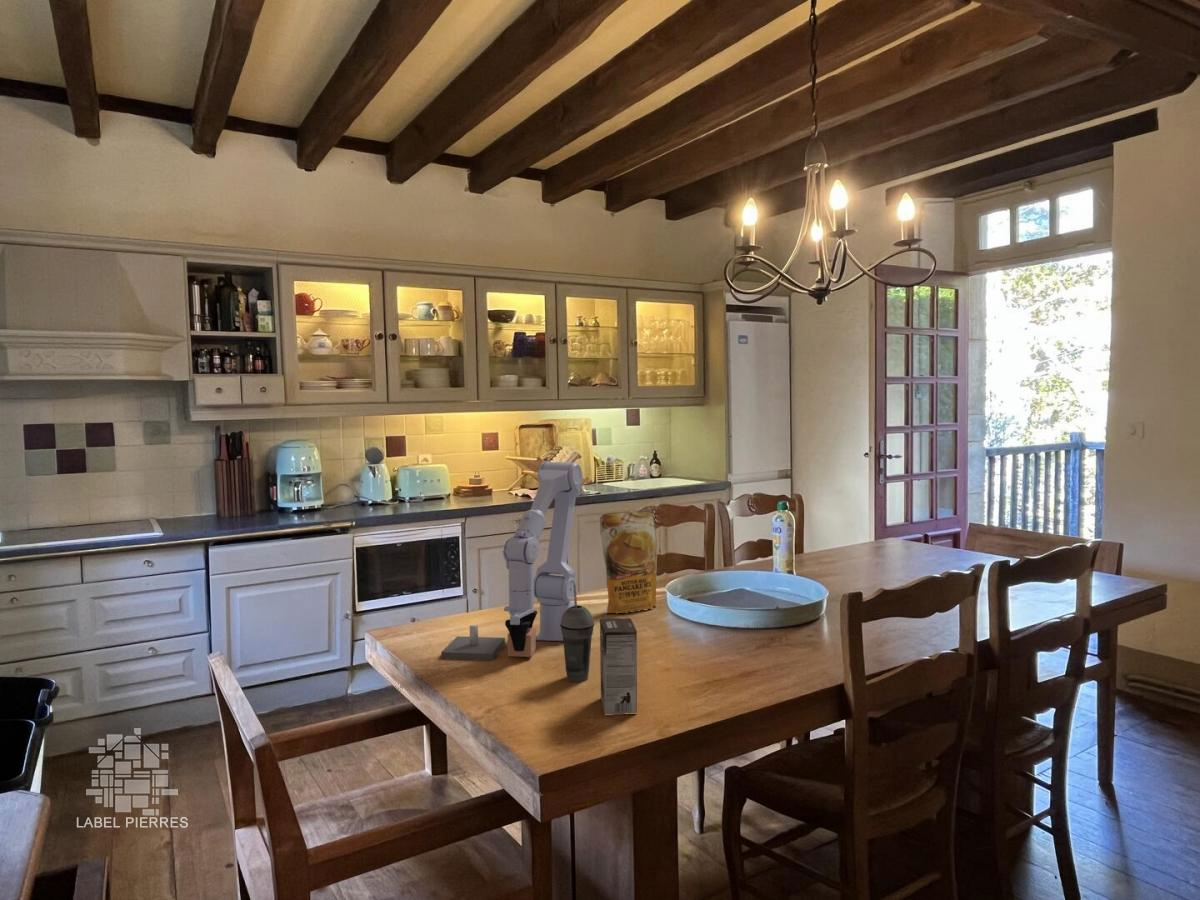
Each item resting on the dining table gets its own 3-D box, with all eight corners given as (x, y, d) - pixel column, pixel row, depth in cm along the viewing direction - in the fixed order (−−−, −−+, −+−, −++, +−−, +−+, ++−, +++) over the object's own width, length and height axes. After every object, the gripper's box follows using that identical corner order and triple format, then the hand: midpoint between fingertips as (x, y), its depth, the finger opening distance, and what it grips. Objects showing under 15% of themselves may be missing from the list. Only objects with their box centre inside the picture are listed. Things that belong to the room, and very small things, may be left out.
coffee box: (599, 697, 151) (599, 617, 150) (631, 696, 151) (631, 616, 150) (603, 716, 142) (603, 631, 141) (637, 715, 142) (637, 630, 141)
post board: (505, 643, 185) (504, 619, 184) (492, 660, 173) (492, 634, 172) (457, 642, 186) (456, 618, 186) (441, 658, 174) (441, 632, 174)
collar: (535, 649, 178) (535, 628, 178) (531, 656, 173) (530, 635, 173) (513, 648, 179) (513, 627, 179) (507, 655, 174) (507, 634, 173)
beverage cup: (569, 686, 157) (568, 591, 155) (554, 675, 163) (554, 583, 162) (600, 680, 160) (600, 587, 159) (585, 669, 166) (584, 580, 165)
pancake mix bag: (594, 611, 214) (594, 512, 212) (652, 602, 222) (652, 508, 221) (605, 617, 208) (605, 515, 206) (664, 608, 216) (665, 511, 215)
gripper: (511, 581, 183) (512, 636, 184) (496, 596, 168) (497, 656, 169) (540, 581, 182) (540, 637, 183) (527, 597, 168) (528, 657, 168)
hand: (521, 646), depth 176 cm, fingers closed on collar, 5 cm apart
